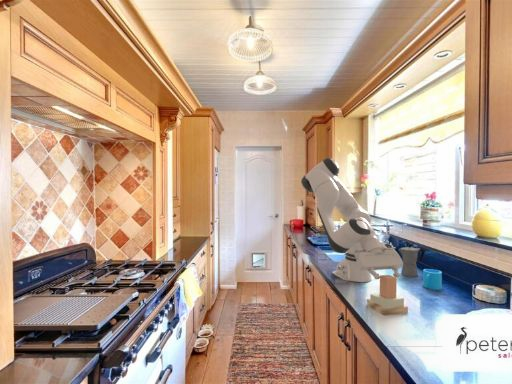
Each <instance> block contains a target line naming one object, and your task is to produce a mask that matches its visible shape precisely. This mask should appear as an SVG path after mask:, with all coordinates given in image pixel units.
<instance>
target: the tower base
mask: <svg viewBox="0 0 512 384" xmlns="http://www.w3.org/2000/svg"><path fill="white" fill-rule="evenodd" d="M366 304H367V305H366V306H368V307H370V308H371V309H373V310H375V311H376V312H378V313H380V314H381V315H384V316H389V315H398V314H399V315H400V314H408V313H409V307H408V306H407V305H405V304H404V306H399V307H395V308H390V309H387V308H385V307H382V306H380V305H378V304H376V303H373V302H371V301H370V298H369V299H366Z"/></svg>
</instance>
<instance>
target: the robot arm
mask: <svg viewBox="0 0 512 384" xmlns="http://www.w3.org/2000/svg"><path fill="white" fill-rule="evenodd" d="M339 173H340V166H339V164H338V162H337V161H336V160H334V159H332V158H331V157H326V158H324V159H323V160H322V161H319V163H317V164H316V165H315V166H313V167H312V169H310V170H309V171H308V172H307V173H306V174H305V175H303V177H302V178H301V185H302V188H303V189H304V190H305V191H307V192H308V193H313V194H314V195H315V197H316V200H317V201H316V202H317V209H316V210H317V214H318V216H319V220H320V222H321V224H322V226H323V229H324V232H325V234H326V237H327V241H328V246H329V247H330V249H331V250H332V251H333V252H335V253H338V254H343V255H344V256H345V257H344V259H342V260H341V261H339V262H338V263H337V265H336V269H335V270H334V271H332V274H333V275H335V277H338V278H339V279H341V280H343V281H346V282H354V283H355V282H358V283H366V282H371V281H372V276H373V278H374V279H375V280H380V273H377V272H376V271H381V270H384V271H385V270H392V272H394V273H393V274H392V276H393V277H396V278H397V279H399V277H401V276H400V273H399V269H400V268H402V266H403V258H402V257H401V256H400V255H399V253H398V252H397V251H396V249H395V247H394V245H393V244H391V243H386V242H383V241H381V240H380V239H379V238H378V237H377V235H376V232H375V229H374V228H373V227H372V225H371V223H372V222H371V221H372V218H371V215H370V213H368V211H367V210H365V209H363V208H362V207H361V205H360V204H359V203H358V202H357V200H356V199H355V197H354V196H353V195H352V193H351V192H350V191H349V189H348V188H347V187H346V186H345V185H344V184H343V182H342V181H341V180H340V178H338V177H339V175H338V174H339ZM334 208H336V209H337V211H338V212H339V213H340V214H341V216H342V217H343V218H344V219H345V221H346V222H345V223H344V224H342V225H341V226H340V227H339V228H338V229H337V227H336V225H335V222H334V220H333V216H332V215H333V210H334Z"/></svg>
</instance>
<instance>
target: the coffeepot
mask: <svg viewBox="0 0 512 384" xmlns="http://www.w3.org/2000/svg"><path fill="white" fill-rule="evenodd" d="M398 251H399V253H400V254H401V256H402V261H403V265H402V266H401V271H400V274H401V275H403V276H406V277H412V278H413V277H418V276H419V271H418V267H417V266H418V265H417V262H418V263H421V262H423V259H424V256H425V252H426V250H425V249H424V248H422V247H416V248H415V247H412V244H411V243H408V246H406V247H401V248H398ZM419 252H421V254H420V257H419V260H418V255H419V254H418V253H419Z"/></svg>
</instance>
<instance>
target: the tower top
mask: <svg viewBox="0 0 512 384" xmlns="http://www.w3.org/2000/svg"><path fill="white" fill-rule="evenodd" d="M369 299H370V301H371V302H373V303H376V304H378V305H380V306H382V307H385V308H387V309H390V308H395V307H399V306H404V305H405V298H404V297H402V296H400V295H397V294H396V298H385V297H383V296H382V295H380V291H379V292H375V293H370V298H369Z"/></svg>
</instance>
